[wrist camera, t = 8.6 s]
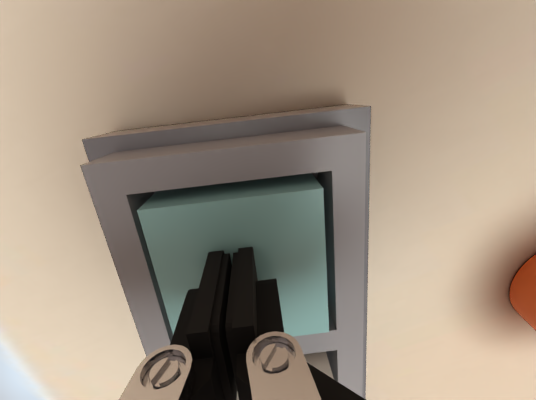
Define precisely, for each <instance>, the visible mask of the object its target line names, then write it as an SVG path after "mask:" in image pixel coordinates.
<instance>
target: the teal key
mask: <svg viewBox="0 0 536 400" xmlns="http://www.w3.org/2000/svg"><path fill="white" fill-rule="evenodd" d="M137 212H138V216H139V219H140V223H141V226H142V230H143V233H144V237H145V240H146V243H147V247H148V250H149V254H150V257H151V261H152V264H153V267H154V271H155V274H156V278H157V281H158V285H159V288H160V292H161V295H162V298H163V302H164V305H165V309H166V312H167V316H168V319H169V322H170V326H171V329H172V333H173V334H174V331H175V328H176V325H177V322H178V319H179V315H180V312H181V309H182V306H183V303H184V300H185V297H186V294H187V292H188V290H189V289H196V288H199V285H200V281H201V278H202V274H203V270H204V267H205V263H206V259H207V256H208V253H209V252H213V251H221V250H223V251H224V253H225V254H228V253H229V254H230V258H231V264H232V259H233V253H236V252H238V248H245V247H253V251H254V258H255V265H256V272H257V279H258V281H259V280H267V279H275V278H276V279H277V286H278V293H279V300H280V307H281V313H282V320H283V327H284V333H287V334H289V335H291V336H292V337H294V336H302V335H310V334H318V333H326V332H329V315H328V290H327V266H326V241H325V217H324V192H323V187H322V186H321V185H320V183H319V182H318V181H317V180H316V178H315V177H314V176H313V174H312V173H307V174H299V175H290V176H282V177H273V178H265V179H257V180H248V181H240V182H231V183H223V184H214V185H206V186H197V187H189V188H180V189H172V190H163V191H156V192H155V193H154V194H153V195H152V196H151V197H150V198H149V199H148V200H147V201H146V202H145V203H144V204H143V205H142V206H141V207H140V208H139V209H138V210H137Z"/></svg>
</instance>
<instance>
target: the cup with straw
mask: <svg viewBox="0 0 536 400" xmlns="http://www.w3.org/2000/svg"><path fill="white" fill-rule="evenodd" d="M510 301H511V304H512V306H513V308H514V309H515V310H516V311H517V313H518V314H519V315H520V316H521V317H522V318H523V319H524V320H525V321H527V322H528V323H529V324H530V325H531V326H532V327H533V328H534V329H535V330H536V255H534V256H533V257H531V258H530V259H529V260H528V261H527V262H526V263H525V264H524V265H523V266H522V267H521V268H520V269H519V271H518V272H517V273H516V275H515V277H514V279H513V281H512V283H511V287H510Z"/></svg>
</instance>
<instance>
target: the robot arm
mask: <svg viewBox="0 0 536 400" xmlns="http://www.w3.org/2000/svg"><path fill="white" fill-rule="evenodd" d="M237 392H238V397H239V400H366V399H364V398H362V397H361V396H359V395H358V394H356V393H355V392H353V391H351V390H350V389H348V388H347V387H345V386H344V385H342V384H340V383H339V382H337V381H336V380H334V379H333V378H331V377H329V376H328V375H326V374H325V373H323V372H321V371H320V370H318V369H317V368H315V367H314V366H312V365H310V364H309V363H307V362H306V359H305V356H304V354H303V351H302V349H301V346H300V345H299V343H298V341H297V340H296V339H295V338H294V337H292V336H291V335H289V334H287V333H284V327H283V320H282V313H281V307H280V300H279V293H278V286H277V279H276V278H275V279H267V280H259V281H258V279H257V272H256V265H255V258H254V251H253V247H245V248H238V252H236V253H233V259H232V264H231V258H230V254H229V253H228V254H225V253H224V251H223V250H221V251H213V252H209V253H208V256H207V259H206V263H205V267H204V270H203V274H202V278H201V281H200V285H199V288H196V289H189V290H188V292H187V294H186V297H185V300H184V303H183V306H182V309H181V312H180V315H179V319H178V322H177V325H176V328H175V331H174V334H173V337H172V340H171V343H170V345H168V346H164V347H162V348H159V349H157V350H155V351H154V352H152V353H150V354H149V355H148V356H147V357H146V358H145V359H144V360H143V361H142V362H141V363H140V365H139V366H138V367H137V369H136V371H135V372H134V374H133V376H132V378H131V379H130V381H129V383H128V385H127V386H126V388H125V390H124V392H123V393H122V395H121V397H120V398H119V400H237Z"/></svg>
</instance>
